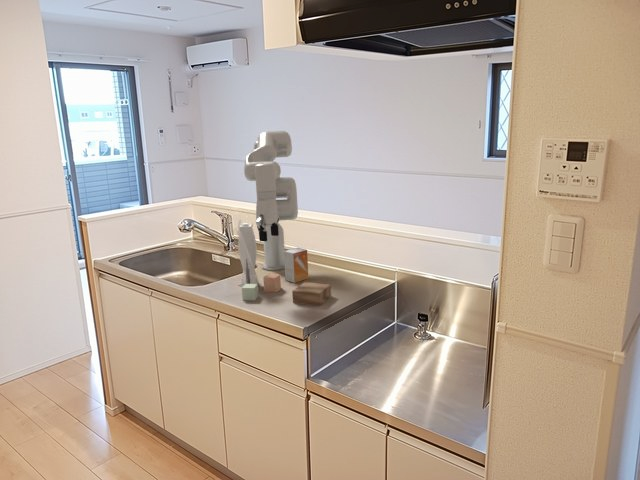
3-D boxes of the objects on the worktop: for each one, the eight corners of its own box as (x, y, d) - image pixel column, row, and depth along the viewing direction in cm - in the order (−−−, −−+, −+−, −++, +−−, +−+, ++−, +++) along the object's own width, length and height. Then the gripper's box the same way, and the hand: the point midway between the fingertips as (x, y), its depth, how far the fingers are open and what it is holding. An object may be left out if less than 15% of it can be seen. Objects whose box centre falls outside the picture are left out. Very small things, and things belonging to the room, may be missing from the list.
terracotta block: (270, 287, 208) (269, 273, 207) (281, 288, 207) (280, 274, 205) (264, 291, 204) (263, 277, 203) (275, 292, 202) (274, 278, 201)
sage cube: (246, 295, 200) (245, 283, 198) (258, 295, 199) (257, 283, 198) (242, 300, 195) (241, 288, 194) (255, 300, 194) (254, 288, 193)
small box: (294, 283, 212) (293, 253, 209) (285, 280, 217) (283, 251, 214) (308, 278, 218) (307, 249, 215) (299, 275, 222) (297, 247, 219)
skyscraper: (236, 285, 214) (230, 220, 207) (250, 280, 219) (245, 217, 213) (248, 289, 208) (243, 222, 202) (263, 284, 214) (258, 219, 207)
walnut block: (305, 294, 200) (304, 281, 198) (331, 296, 195) (330, 284, 194) (293, 303, 190) (292, 290, 189) (319, 306, 185) (319, 293, 184)
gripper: (268, 192, 205) (271, 233, 209) (246, 198, 190) (250, 242, 194) (284, 192, 203) (287, 234, 206) (264, 198, 187) (267, 243, 191)
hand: (269, 238), depth 200 cm, fingers open, 9 cm apart
